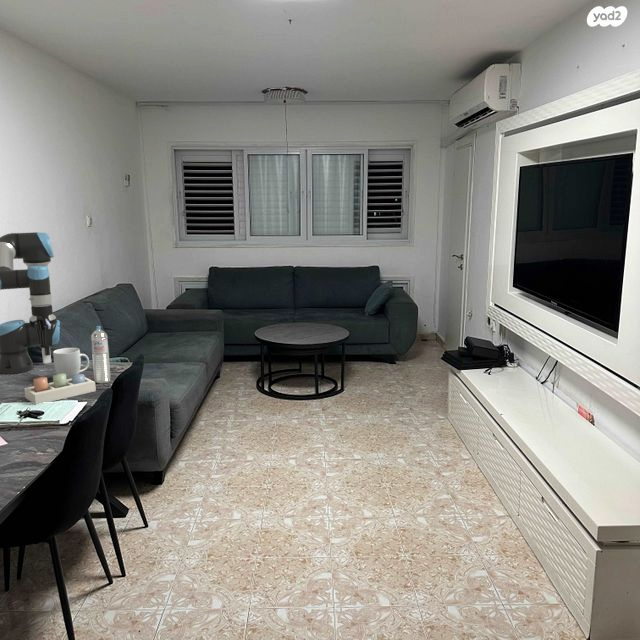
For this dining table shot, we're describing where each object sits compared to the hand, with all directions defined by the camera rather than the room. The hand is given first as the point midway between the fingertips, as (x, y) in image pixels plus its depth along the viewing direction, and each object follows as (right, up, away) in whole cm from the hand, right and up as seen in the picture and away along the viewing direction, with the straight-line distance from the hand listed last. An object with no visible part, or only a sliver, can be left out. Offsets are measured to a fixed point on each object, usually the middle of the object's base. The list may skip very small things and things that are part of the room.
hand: (47, 362), depth 232 cm
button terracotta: (-2, -11, 0) cm, 12 cm away
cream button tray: (+3, -14, +6) cm, 15 cm away
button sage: (+3, -10, +5) cm, 12 cm away
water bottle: (+14, -10, +23) cm, 29 cm away
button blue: (+8, -11, +11) cm, 17 cm away
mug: (-2, -9, +28) cm, 30 cm away
